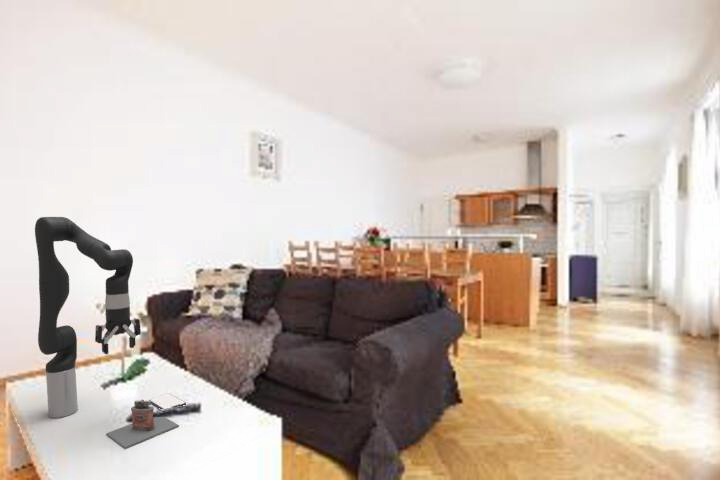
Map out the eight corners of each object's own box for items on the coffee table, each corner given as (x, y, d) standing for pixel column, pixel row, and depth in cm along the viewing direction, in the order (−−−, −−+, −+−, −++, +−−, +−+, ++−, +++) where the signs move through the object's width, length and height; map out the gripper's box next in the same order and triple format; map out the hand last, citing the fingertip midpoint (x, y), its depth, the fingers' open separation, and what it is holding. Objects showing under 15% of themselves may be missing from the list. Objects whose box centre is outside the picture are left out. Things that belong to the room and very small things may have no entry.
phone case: (147, 403, 171) (164, 414, 160) (147, 399, 171) (164, 410, 160) (169, 396, 177) (187, 406, 167) (169, 392, 177) (187, 402, 166)
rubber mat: (106, 435, 145) (106, 433, 145) (158, 415, 159) (158, 413, 159) (125, 449, 135) (125, 447, 135) (179, 426, 149) (178, 425, 149)
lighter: (129, 430, 146) (128, 402, 146) (136, 425, 150) (135, 397, 149) (150, 431, 145) (148, 403, 144) (156, 427, 148) (155, 399, 148)
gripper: (133, 301, 158) (135, 343, 159) (91, 307, 147) (92, 353, 148) (143, 304, 153) (144, 347, 154) (99, 310, 142) (101, 358, 143)
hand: (119, 350), depth 151 cm, fingers open, 8 cm apart
